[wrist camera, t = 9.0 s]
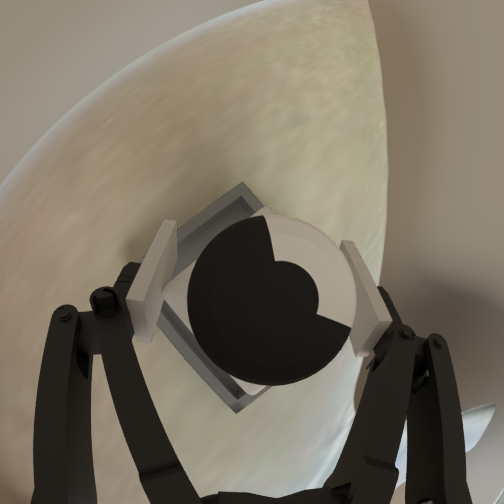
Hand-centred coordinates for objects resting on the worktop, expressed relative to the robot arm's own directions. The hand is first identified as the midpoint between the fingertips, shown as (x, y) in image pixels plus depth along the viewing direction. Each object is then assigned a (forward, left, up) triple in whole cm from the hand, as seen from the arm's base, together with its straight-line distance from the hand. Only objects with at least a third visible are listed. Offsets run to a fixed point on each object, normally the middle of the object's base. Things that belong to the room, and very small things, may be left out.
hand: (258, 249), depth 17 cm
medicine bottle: (+2, -2, -5) cm, 6 cm away
